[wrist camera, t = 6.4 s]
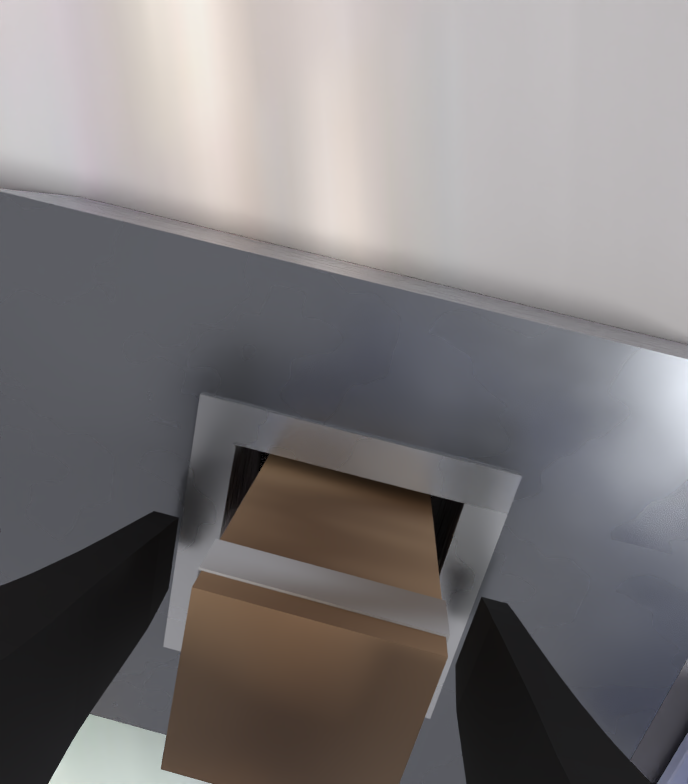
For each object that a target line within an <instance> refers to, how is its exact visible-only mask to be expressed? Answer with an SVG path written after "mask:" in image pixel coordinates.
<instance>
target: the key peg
mask: <svg viewBox="0 0 688 784" xmlns="http://www.w3.org/2000/svg"><path fill="white" fill-rule="evenodd" d="M449 637H450V632H449V623H448V615H447V607H446V601H445V600H442V597H441V588H440V578H439V569H438V560H437V551H436V542H435V533H434V524H433V514H432V505H431V496H430V494H426V493H422V492H418V491H414V490H410V489H406V488H402V487H398V486H395V485H391V484H387V483H383V482H379V481H375V480H371V479H367V478H363V477H359V476H356V475H352V474H348V473H344V472H340V471H336V470H332V469H328V468H324V467H320V466H316V465H313V464H309V463H305V462H301V461H297V460H293V459H289V458H285V457H281V456H277V455H274V454H269V456H268V458H267V460H266V461H265V463H264V465H263V466H262V468H261V470H260V472H259V473H258V475H257V477H256V478H255V480H254V482H253V484H252V485H251V487H250V489H249V490H248V492H247V494H246V495H245V497H244V499H243V501H242V502H241V504H240V506H239V507H238V509H237V511H236V513H235V514H234V516H233V518H232V519H231V521H230V523H229V525H228V526H227V528H226V530H225V531H224V533H223V535H222V536H221V538H220V540H219V539H216V540H215V541H214V543H213V545H212V546H211V548H210V550H209V551H208V553H207V555H206V556H205V558H204V560H203V561H202V563H201V565H200V566H199V570H198V575H197V579H196V581H195V583H194V584H193V586H192V589H191V595H190V601H189V607H188V613H187V618H186V624H185V630H184V636H183V642H182V648H181V654H180V659H179V665H178V671H177V677H176V683H175V689H174V695H173V700H172V706H171V712H170V718H169V724H168V730H167V735H166V741H165V747H164V753H163V759H162V765H161V769H162V770H166V771H169V772H173V773H176V774H180V775H183V776H187V777H191V778H194V779H198V780H201V781H205V782H208V783H212V784H399V783H400V780H401V778H402V775H403V773H404V770H405V767H406V765H407V762H408V760H409V757H410V754H411V752H412V749H413V747H414V744H415V741H416V739H417V736H418V734H419V731H420V728H421V726H422V723H423V721H424V718H425V716H426V713H427V710H428V708H429V705H430V703H431V700H432V697H433V695H434V692H435V690H436V687H437V684H438V682H439V679H440V677H441V674H442V672H443V669H444V666H445V664H446V661H447V659H448V652H447V642H448V639H449Z"/></svg>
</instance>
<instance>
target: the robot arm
mask: <svg viewBox="0 0 688 784" xmlns="http://www.w3.org/2000/svg"><path fill="white" fill-rule="evenodd" d="M178 521H179V517H175V516H171V515H168V514H164V513H160V512H156V511H153V512H151V513H149V514H147V515H145V516H143V517H142V518H140V519H138V520H136V521H134V522H132V523H131V524H129V525H127V526H125V527H123V528H121V529H120V530H118V531H116V532H114V533H112V534H110V535H109V536H107V537H105V538H103V539H101V540H99V541H97V542H95V543H93V544H91V545H90V546H88V547H86V548H84V549H82V550H80V551H78V552H76V553H74V554H72V555H70V556H67V557H65V558H63V559H61V560H59V561H57V562H55V563H52V564H50V565H48V566H46V567H44V568H42V569H40V570H38V571H35V572H33V573H31V574H28V575H26V576H24V577H21V578H19V579H16V580H14V581H11V582H9V583H6V584H4V585H1V586H0V784H48V783H49V781H50V779H51V777H52V776H53V774H54V772H55V770H56V769H57V767H58V765H59V763H60V761H61V760H62V758H63V756H64V754H65V753H66V751H67V749H68V747H69V746H70V744H71V742H72V740H73V739H74V737H75V736H76V734H77V732H78V731H79V729H80V728H81V726H82V725H83V723H84V721H85V720H86V718H87V717H88V715H89V714H90V712H91V711H92V710H93V708H94V707H95V705H96V704H97V702H98V701H99V699H100V698H101V696H102V695H103V694H104V692H105V691H106V689H107V688H108V686H109V685H110V683H111V682H112V680H113V679H114V678H115V676H116V675H117V673H118V672H119V670H120V669H121V667H122V666H123V664H124V663H125V662H126V660H127V659H128V657H129V656H130V654H131V653H132V651H133V650H134V648H135V647H136V645H137V644H138V642H139V641H140V639H141V638H142V636H143V635H144V633H145V632H146V630H147V629H148V627H149V625H150V624H151V622H152V620H153V618H154V616H155V614H156V612H157V611H158V609H159V607H160V605H161V603H162V601H163V599H164V597H165V595H166V593H167V591H168V589H169V583H170V576H171V569H172V562H173V555H174V549H175V542H176V535H177V528H178ZM455 679H456V713H457V720H458V728H459V735H460V743H461V750H462V757H463V764H464V771H465V778H466V784H651V783H650V781H649V780H648V779H647V778H646V777H645V776H644V775H643V774H642V773H641V772H640V771H639V770H638V769H637V768H636V767H635V766H634V764H633V763H632V762H631V761H630V760H629V759H628V758H627V757H626V756H625V755H624V754H623V752H622V751H621V750H620V749H619V748H618V747H617V746H616V745H615V744H614V743H613V741H612V740H611V739H610V738H609V737H608V736H607V734H606V733H605V732H604V731H603V730H602V729H601V727H600V726H599V725H598V724H597V723H596V721H595V720H594V719H593V718H592V716H591V715H590V714H589V713H588V712H587V710H586V709H585V708H584V707H583V705H582V704H581V703H580V702H579V700H578V699H577V698H576V697H575V695H574V694H573V693H572V691H571V690H570V689H569V688H568V686H567V685H566V684H565V682H564V681H563V680H562V678H561V677H560V676H559V674H558V673H557V672H556V670H555V669H554V667H553V666H552V665H551V663H550V662H549V661H548V659H547V658H546V656H545V655H544V654H543V652H542V651H541V649H540V648H539V647H538V645H537V644H536V642H535V641H534V640H533V638H532V637H531V635H530V634H529V632H528V631H527V630H526V628H525V627H524V625H523V624H522V622H521V621H520V620H519V618H518V617H517V615H516V614H515V613H514V611H513V610H512V609H511V607H510V606H509V605H508V603H504V602H500V601H496V600H492V599H488V598H485V597H481V599H480V602H479V604H478V607H477V610H476V612H475V615H474V617H473V620H472V623H471V625H470V628H469V631H468V633H467V636H466V638H465V641H464V644H463V646H462V649H461V651H460V654H459V657H458V659H457V662H456V664H455ZM657 784H688V733H687V735H686V736H685V738H684V740H683V741H682V743H681V745H680V746H679V748H678V750H677V751H676V753H675V755H674V756H673V758H672V760H671V761H670V763H669V765H668V766H667V768H666V770H665V771H664V773H663V775H662V776H661V778H660V780H659V781H658V783H657Z"/></svg>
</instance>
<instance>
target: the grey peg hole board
mask: <svg viewBox="0 0 688 784" xmlns="http://www.w3.org/2000/svg"><path fill="white" fill-rule="evenodd" d="M262 452H266V453H270V454H274V455H277V456H281V457H285V458H289V459H293V460H297V461H301V462H305V463H309V464H313V465H316V466H320V467H324V468H328V469H332V470H336V471H340V472H344V473H348V474H352V475H356V476H359V477H363V478H367V479H371V480H375V481H379V482H383V483H387V484H391V485H395V486H398V487H402V488H406V489H410V490H414V491H418V492H422V493H426V494H430V495H433V497H432V500H431V505H432V514H433V524H434V533H435V542H436V551H437V560H438V569H439V578H440V588H441V597H442V600H445V601H446V607H447V615H448V623H449V632H450V637H449V639H448V642H447V652H448V659H447V661H446V664H445V666H444V669H443V672H442V674H441V677H440V679H439V682H438V684H437V687H436V690H435V692H434V695H433V697H432V700H431V703H430V705H429V708H428V710H427V713H426V716H425V718H424V721H423V723H422V726H421V728H420V731H419V734H418V736H417V739H416V741H415V744H414V747H413V749H412V752H411V754H410V757H409V760H408V762H407V765H406V767H405V770H404V773H403V775H402V778H401V780H400V783H399V784H466V778H465V771H464V764H463V757H462V750H461V743H460V735H459V728H458V720H457V713H456V679H455V664H456V662H457V659H458V657H459V654H460V651H461V649H462V646H463V644H464V641H465V638H466V636H467V633H468V631H469V628H470V625H471V623H472V620H473V617H474V615H475V612H476V610H477V607H478V604H479V602H480V599H481V597H485V598H488V599H492V600H496V601H500V602H504V603H508V605H509V606H510V607H511V609H512V610H513V611H514V613H515V614H516V615H517V617H518V618H519V620H520V621H521V622H522V624H523V625H524V627H525V628H526V630H527V631H528V632H529V634H530V635H531V637H532V638H533V640H534V641H535V642H536V644H537V645H538V647H539V648H540V649H541V651H542V652H543V654H544V655H545V656H546V658H547V659H548V661H549V662H550V663H551V665H552V666H553V667H554V669H555V670H556V672H557V673H558V674H559V676H560V677H561V678H562V680H563V681H564V682H565V684H566V685H567V686H568V688H569V689H570V690H571V691H572V693H573V694H574V695H575V697H576V698H577V699H578V700H579V702H580V703H581V704H582V705H583V707H584V708H585V709H586V710H587V712H588V713H589V714H590V715H591V716H592V718H593V719H594V720H595V721H596V723H597V724H598V725H599V726H600V727H601V729H602V730H603V731H604V732H605V733H606V734H607V736H608V737H609V738H610V739H611V740H612V741H613V743H614V744H615V745H616V746H617V747H618V748H619V749H620V750H621V751H622V752H623V754H624V755H625V756H626V757H627V758H628V759H629V760H630V759H631V757H632V756H633V754H634V752H635V750H636V749H637V747H638V745H639V743H640V742H641V740H642V738H643V736H644V734H645V733H646V731H647V729H648V727H649V726H650V724H651V722H652V720H653V719H654V717H655V715H656V713H657V712H658V710H659V708H660V706H661V704H662V703H663V701H664V699H665V697H666V696H667V694H668V692H669V690H670V689H671V687H672V685H673V683H674V681H675V680H676V678H677V676H678V674H679V673H680V671H681V669H682V667H683V666H684V664H685V662H686V660H687V659H688V345H687V344H683V343H679V342H675V341H671V340H667V339H662V338H658V337H654V336H650V335H646V334H642V333H638V332H634V331H630V330H625V329H621V328H617V327H613V326H609V325H605V324H601V323H597V322H593V321H588V320H584V319H580V318H576V317H572V316H568V315H564V314H560V313H556V312H551V311H547V310H543V309H539V308H535V307H531V306H527V305H523V304H519V303H514V302H510V301H506V300H502V299H498V298H494V297H490V296H486V295H482V294H477V293H473V292H469V291H465V290H461V289H457V288H453V287H449V286H445V285H440V284H436V283H432V282H428V281H424V280H420V279H416V278H412V277H408V276H403V275H399V274H395V273H391V272H387V271H383V270H379V269H375V268H371V267H366V266H362V265H358V264H354V263H350V262H346V261H342V260H338V259H334V258H329V257H325V256H321V255H317V254H313V253H309V252H305V251H301V250H297V249H292V248H288V247H284V246H280V245H276V244H272V243H268V242H264V241H260V240H255V239H251V238H247V237H243V236H239V235H235V234H231V233H227V232H223V231H218V230H214V229H210V228H206V227H202V226H198V225H194V224H190V223H186V222H181V221H177V220H173V219H169V218H165V217H161V216H157V215H153V214H149V213H144V212H140V211H136V210H132V209H128V208H124V207H120V206H116V205H112V204H107V203H103V202H99V201H95V200H91V199H87V198H83V197H78V196H68V195H59V194H49V193H39V192H29V191H19V190H10V189H0V586H1V585H4V584H6V583H9V582H11V581H14V580H16V579H19V578H21V577H24V576H26V575H28V574H31V573H33V572H35V571H38V570H40V569H42V568H44V567H46V566H48V565H50V564H52V563H55V562H57V561H59V560H61V559H63V558H65V557H67V556H70V555H72V554H74V553H76V552H78V551H80V550H82V549H84V548H86V547H88V546H90V545H91V544H93V543H95V542H97V541H99V540H101V539H103V538H105V537H107V536H109V535H110V534H112V533H114V532H116V531H118V530H120V529H121V528H123V527H125V526H127V525H129V524H131V523H132V522H134V521H136V520H138V519H140V518H142V517H143V516H145V515H147V514H149V513H151V512H153V511H156V512H160V513H164V514H168V515H171V516H175V517H179V521H178V528H177V535H176V542H175V549H174V555H173V562H172V569H171V576H170V583H169V589H168V591H167V593H166V595H165V597H164V599H163V601H162V603H161V605H160V607H159V609H158V611H157V612H156V614H155V616H154V618H153V620H152V622H151V624H150V625H149V627H148V629H147V630H146V632H145V633H144V635H143V636H142V638H141V639H140V641H139V642H138V644H137V645H136V647H135V648H134V650H133V651H132V653H131V654H130V656H129V657H128V659H127V660H126V662H125V663H124V664H123V666H122V667H121V669H120V670H119V672H118V673H117V675H116V676H115V678H114V679H113V680H112V682H111V683H110V685H109V686H108V688H107V689H106V691H105V692H104V694H103V695H102V696H101V698H100V699H99V701H98V702H97V704H96V705H95V707H94V708H93V710H92V711H91V712H90V714H93V715H96V716H100V717H103V718H107V719H111V720H114V721H118V722H122V723H125V724H129V725H132V726H136V727H140V728H143V729H147V730H151V731H154V732H158V733H162V734H165V735H167V730H168V724H169V718H170V712H171V706H172V700H173V695H174V689H175V683H176V677H177V671H178V665H179V659H180V654H181V648H182V642H183V636H184V630H185V624H186V618H187V613H188V607H189V601H190V595H191V589H192V586H193V584H194V583H195V581H196V579H197V575H198V570H199V566H200V565H201V563H202V561H203V560H204V558H205V556H206V555H207V553H208V551H209V550H210V548H211V546H212V545H213V543H214V541H215V540H216V539H219V540H220V538H221V536H222V535H223V533H224V531H225V530H226V528H227V526H228V525H229V523H230V521H231V519H232V518H233V516H234V514H235V513H236V511H237V509H238V507H239V506H240V504H241V502H242V501H243V499H244V497H245V495H246V494H247V492H248V490H249V489H250V487H251V485H252V484H253V482H254V480H255V478H256V477H257V475H258V470H259V465H260V460H261V455H262Z"/></svg>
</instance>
